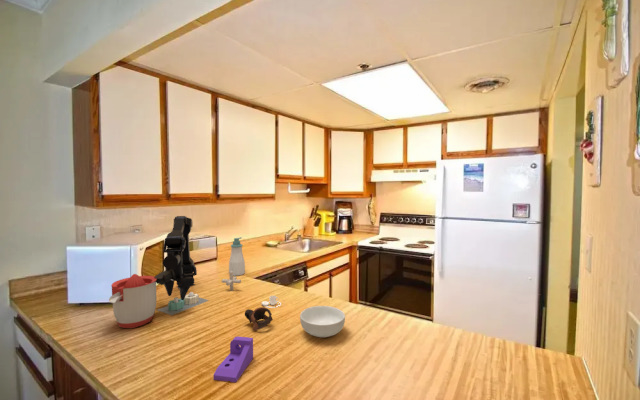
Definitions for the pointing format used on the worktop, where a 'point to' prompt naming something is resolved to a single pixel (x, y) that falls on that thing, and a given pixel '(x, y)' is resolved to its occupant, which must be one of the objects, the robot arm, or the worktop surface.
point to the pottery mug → (258, 317)
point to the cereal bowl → (322, 320)
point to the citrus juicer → (134, 300)
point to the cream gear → (191, 299)
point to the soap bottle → (236, 258)
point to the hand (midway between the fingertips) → (176, 297)
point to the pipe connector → (231, 281)
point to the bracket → (235, 360)
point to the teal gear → (175, 305)
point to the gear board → (187, 306)
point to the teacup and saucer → (271, 302)
